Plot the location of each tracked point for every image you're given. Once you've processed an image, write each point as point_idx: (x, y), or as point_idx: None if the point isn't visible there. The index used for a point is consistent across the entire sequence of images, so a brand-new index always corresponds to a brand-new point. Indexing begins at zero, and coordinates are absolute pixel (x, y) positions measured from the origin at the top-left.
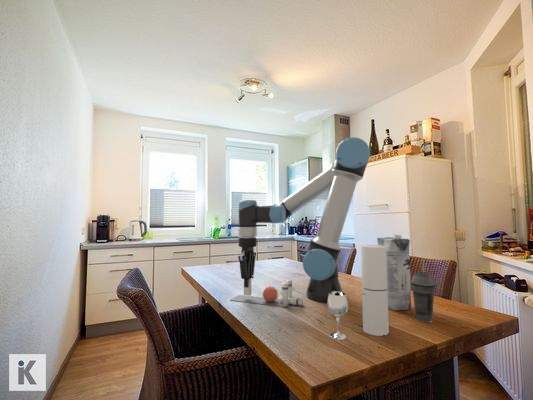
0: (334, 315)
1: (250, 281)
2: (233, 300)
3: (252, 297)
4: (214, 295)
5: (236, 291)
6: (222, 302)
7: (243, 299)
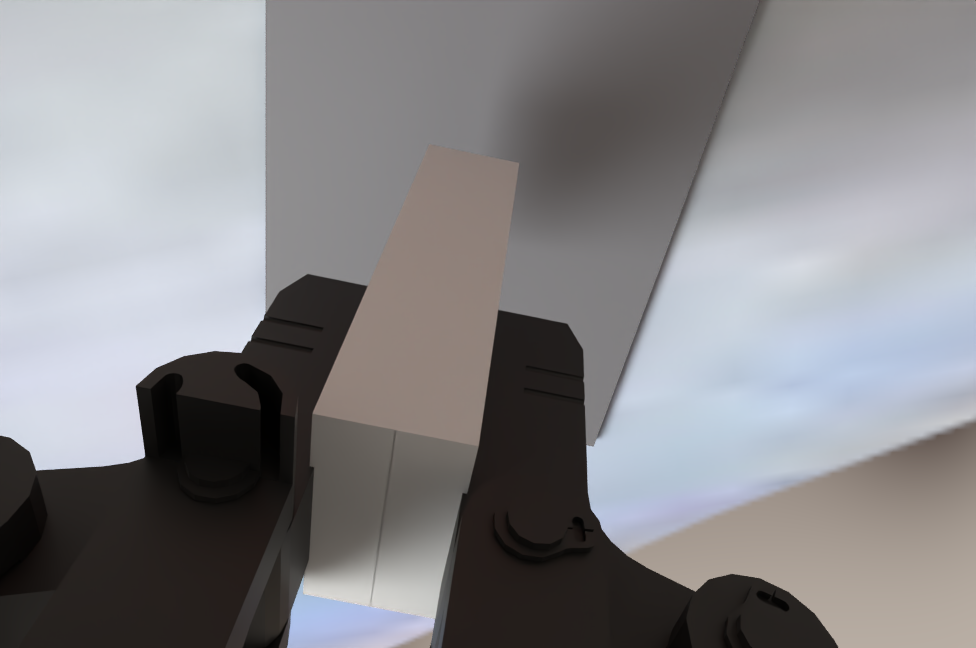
0: None
1: (424, 362)
2: (611, 397)
3: (346, 104)
4: (384, 631)
5: (74, 446)
6: (694, 508)
7: (528, 254)
